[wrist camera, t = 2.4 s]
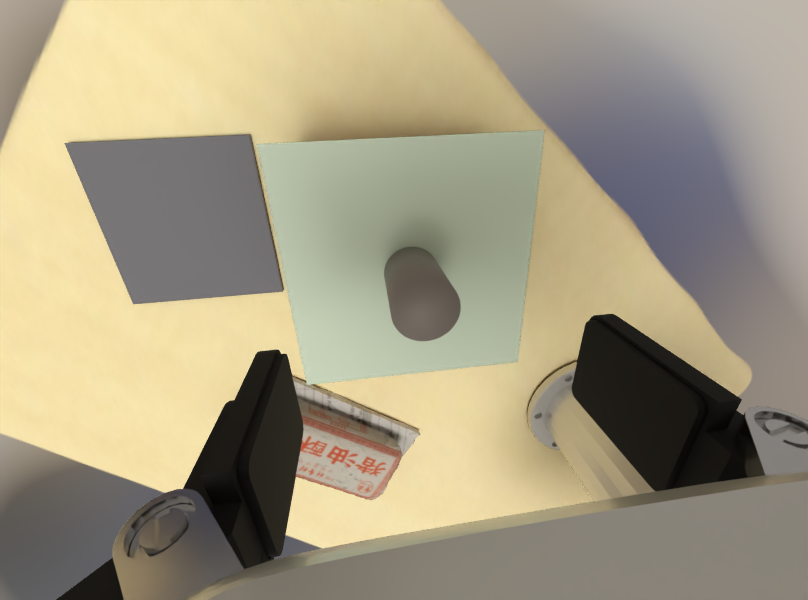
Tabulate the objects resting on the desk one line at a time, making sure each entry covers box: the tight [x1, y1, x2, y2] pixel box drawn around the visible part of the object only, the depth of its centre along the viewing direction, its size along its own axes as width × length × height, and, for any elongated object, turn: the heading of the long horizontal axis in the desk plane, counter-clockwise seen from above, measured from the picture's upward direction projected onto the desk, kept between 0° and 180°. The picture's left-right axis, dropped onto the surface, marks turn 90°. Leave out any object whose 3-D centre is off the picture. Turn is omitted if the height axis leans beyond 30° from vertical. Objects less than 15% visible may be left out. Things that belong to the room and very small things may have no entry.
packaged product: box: [293, 377, 420, 500], centre depth 34 cm, size 18×5×10 cm
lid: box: [257, 130, 545, 385], centre depth 18 cm, size 14×14×7 cm
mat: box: [65, 135, 284, 304], centre depth 26 cm, size 12×12×1 cm
